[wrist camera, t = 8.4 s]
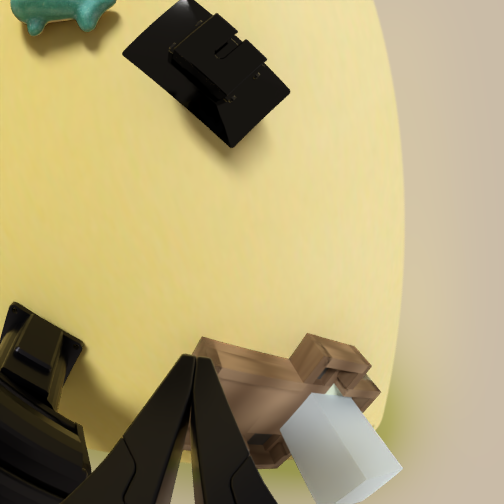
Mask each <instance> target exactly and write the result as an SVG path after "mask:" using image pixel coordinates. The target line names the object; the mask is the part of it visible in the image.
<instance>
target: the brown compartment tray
mask: <svg viewBox="0 0 504 504" xmlns="http://www.w3.org/2000/svg"><path fill="white" fill-rule="evenodd" d="M192 355H195V356H196V359H197V357H198V356H203V357H209V358H211V359H212V362H213V364H214V367H215V370H216V372H217V375H218V378H219V380H220V383H221V385H222V388H223V390H224V393H225V396H226V398H227V401H228V403H229V406H230V408H231V410H232V413H233V415H234V418H235V420H236V423H237V425H238V427H239V430H240V432H241V434H242V437H243V439H244V441H245V444H246V446H247V448H248V450H249V453H250V455H249V456H251V457H252V459H253V461H254V463H255V466H256V468H257V469H273V468H278V467H279V466H280V465H281V464H282V463H283V462H284V461H285V460H287V459H288V458H289V457H290V456H291V453H290V451H289V448H288V446H287V444H286V442H285V440H284V438H283V436H282V434H281V432H280V428H281V427H282V426H283V425H284V424H285V423H286V422H287V421H288V420H289V418H290V417H291V416H292V415H293V414H294V413H295V412H296V410H297V409H298V408H299V407H300V406H301V405H302V404H303V402H304V401H305V400H306V399H307V398H308V396H309V395H310V394H311V393H319V394H328V395H338V396H344V397H351V398H352V400H353V401H354V402H355V404H356V405H357V407H358V408H359V409H360V411H361V412H362V413H363V412H364V411H365V410H366V409H367V408H368V407H369V406H370V404H371V403H372V402H373V401H374V400H375V399H376V398H377V396H378V395H379V394H380V393H381V391H380V390H379V389H378V388H377V386H376V385H375V384H374V383H373V382H372V380H371V379H370V378H369V377H368V376H367V374H366V373H367V372H368V370H369V369H370V368H371V367H372V366H371V365H370V363H369V362H368V361H367V360H366V359H365V358H364V357H363V355H362V354H361V353H360V352H359V351H358V350H357V349H356V347H355V346H351V345H347V344H344V343H340V342H337V341H333V340H329V339H326V338H322V337H319V336H315V335H312V334H309V333H307V334H306V336H305V337H304V339H303V340H302V341H301V343H300V344H299V346H298V347H297V349H296V350H295V351H294V353H293V354H292V356H291V357H290V358H289V359H286V358H282V357H278V356H273V355H269V354H265V353H261V352H257V351H253V350H249V349H245V348H241V347H238V346H234V345H230V344H227V343H223V342H219V341H216V340H212V339H209V338H205V337H201V339H200V341H199V343H198V345H197V346H196V348H195V350H194V352H193V354H192ZM190 415H191V412H190ZM183 450H189V451H191V439H190V420H189V426H188V430H187V434H186V438H185V443H184V447H183Z"/></svg>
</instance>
